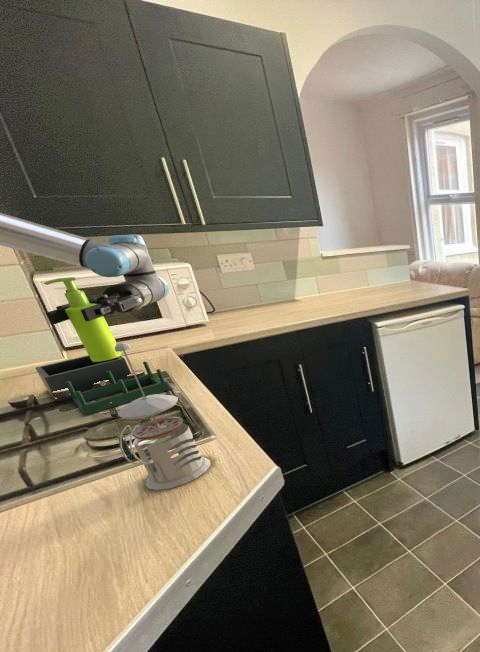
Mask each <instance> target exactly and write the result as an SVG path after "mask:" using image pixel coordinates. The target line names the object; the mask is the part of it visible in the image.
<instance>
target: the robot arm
mask: <svg viewBox="0 0 480 652" xmlns="http://www.w3.org/2000/svg"><path fill="white" fill-rule="evenodd" d="M108 242H109V244H108V243H105V242H101V241H98V240H94V239H91V238H88V237H84V236H81V235H78V234H74V233H71V232H67V231H64V230H62V229H58V228H53V227H51V226H47V225H44V224H40V223H36V222H34V221H30V220H27V219H24V218H20V217H16V216H13V215H10V214H6V213H2V212H0V246H1V247H4V248H5V247H6V248H10V249H13V250H17V251H21V252H24V253H28V254H32V255H36V256H40V257H42V258H43V257H44V258H47V259H51V260H55V261H59V262H62V263H66V264H70V265H72V266H73V265H74V266H78V267H81V268H85V269H87V270H90V271H91V272H92V273H94V274H96V275H98V276H100V277H104V278H117V277H121V276H123V278H124V280H125V281H121V282H119V283H116V284H112V285H109V286H108V287H106V288H105V289H104V290H103V292H102V294H99V295H98V296H95V297H90V298H89V299H88V301H89V303H90V304H97V305H94V306H91V307H88V308H85V309H82V310H81V312H82V314H83V317H84V319H85V321H91V320H94V319H96V318H99V317H102V316H104V317H105V316H107V315H108V314H109V315H110V314H111V315H112V314H115V313H121V314H122V313H123V314H126V313H127V314H128V313H132V312H134V311H136V310H137V311H140V310H142V308H143V307H145V306H148V305H150V304H153V303H157V302H159V301H161V300H163V299H164V298H165V297H166V296H168V294H169V285H168V283H167V282H166V281H165V279H164V278H162V277H161V276H158V274H157V272H156V270H155V266H154V265H153V262H152V259H151V256H150V253H149V251H148V246H147V245H146V243H145V241H144V238H143V237H142V236H141V235H139V234H119V235H110V236H109V237H108ZM69 307H71V306H70V304H69V302H68V303H66V304H62V305H57V306H55V308H56V309H53V310H51V311H47V312H45V314H46V316H47V318H48V319H49V322H50V324H51V325H57V324H59V323H63V322H66V321H68V320H69V321H70V319H69V317H68V315H67V313H66V311H65V309H67V308H69Z"/></svg>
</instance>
